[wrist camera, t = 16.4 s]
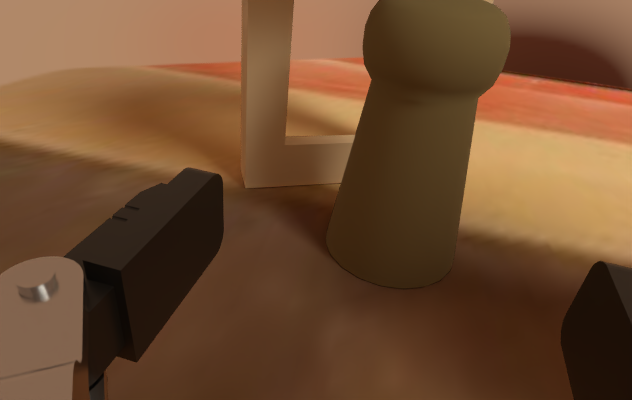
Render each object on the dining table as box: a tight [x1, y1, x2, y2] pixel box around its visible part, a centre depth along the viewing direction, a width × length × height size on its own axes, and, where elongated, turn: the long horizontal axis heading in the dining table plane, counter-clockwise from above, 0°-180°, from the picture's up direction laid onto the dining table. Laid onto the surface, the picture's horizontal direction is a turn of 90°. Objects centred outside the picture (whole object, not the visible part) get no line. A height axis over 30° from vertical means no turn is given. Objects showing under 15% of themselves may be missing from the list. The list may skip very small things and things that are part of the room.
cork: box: [326, 0, 511, 289], centre depth 19 cm, size 6×6×11 cm
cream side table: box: [241, 0, 493, 188], centre depth 19 cm, size 12×10×18 cm
